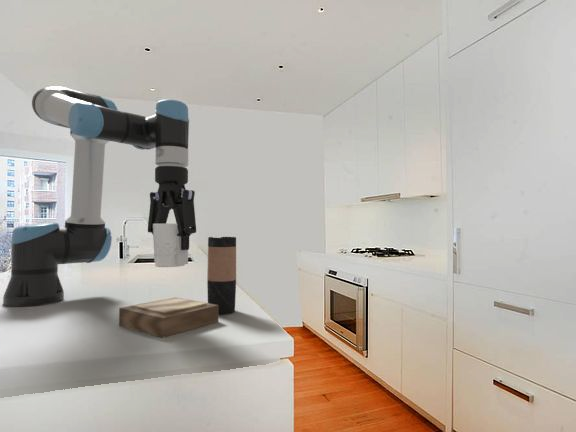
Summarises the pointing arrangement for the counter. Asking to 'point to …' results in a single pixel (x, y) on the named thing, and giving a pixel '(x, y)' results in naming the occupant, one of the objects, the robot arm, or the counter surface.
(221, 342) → the counter surface
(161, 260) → the white cup
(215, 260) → the travel mug
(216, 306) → the walnut riser
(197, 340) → the counter surface
